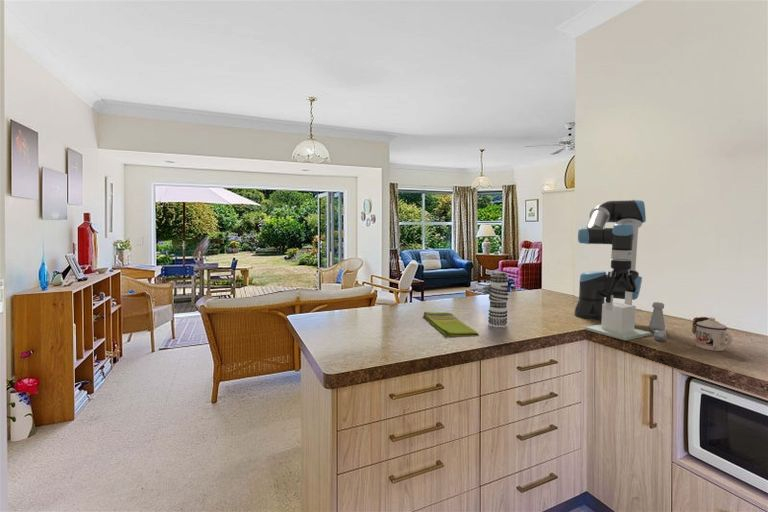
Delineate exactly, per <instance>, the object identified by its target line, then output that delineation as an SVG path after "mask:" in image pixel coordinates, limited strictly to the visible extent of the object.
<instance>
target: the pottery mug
mask: <svg viewBox="0 0 768 512" xmlns="http://www.w3.org/2000/svg"><path fill="white" fill-rule="evenodd" d="M708 318H709V317H708V316H701V317H698V316H697V317H694V318H693V320H692V324H691V325H692V328H691V332H692V333H693V334H695V335H696V328H697V325H696V324H697V322H700V321H704V320H708Z"/></svg>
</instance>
